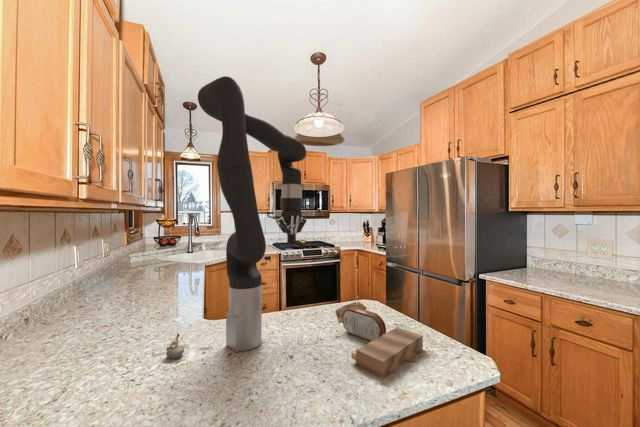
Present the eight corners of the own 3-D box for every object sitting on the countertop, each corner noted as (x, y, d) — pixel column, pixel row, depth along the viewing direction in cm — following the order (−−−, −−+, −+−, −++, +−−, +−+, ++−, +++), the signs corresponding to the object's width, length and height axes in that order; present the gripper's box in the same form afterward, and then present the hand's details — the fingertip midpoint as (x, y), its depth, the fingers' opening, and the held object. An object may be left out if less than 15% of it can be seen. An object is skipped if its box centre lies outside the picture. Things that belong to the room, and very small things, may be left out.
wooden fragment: (354, 326, 95) (354, 323, 95) (325, 320, 100) (325, 318, 100) (372, 304, 119) (372, 301, 119) (348, 300, 123) (348, 298, 123)
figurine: (184, 358, 73) (184, 334, 73) (165, 362, 71) (165, 338, 72) (184, 352, 77) (184, 330, 78) (166, 356, 75) (166, 333, 76)
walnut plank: (383, 379, 64) (383, 361, 64) (351, 363, 71) (351, 347, 71) (422, 349, 78) (422, 335, 78) (392, 338, 85) (392, 325, 85)
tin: (386, 343, 82) (386, 314, 82) (381, 347, 80) (381, 317, 80) (346, 328, 92) (346, 303, 92) (340, 331, 90) (340, 305, 90)
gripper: (283, 196, 94) (283, 247, 94) (312, 197, 103) (311, 244, 103) (270, 197, 99) (270, 245, 99) (299, 198, 108) (298, 242, 108)
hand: (291, 244), depth 101 cm, fingers closed
